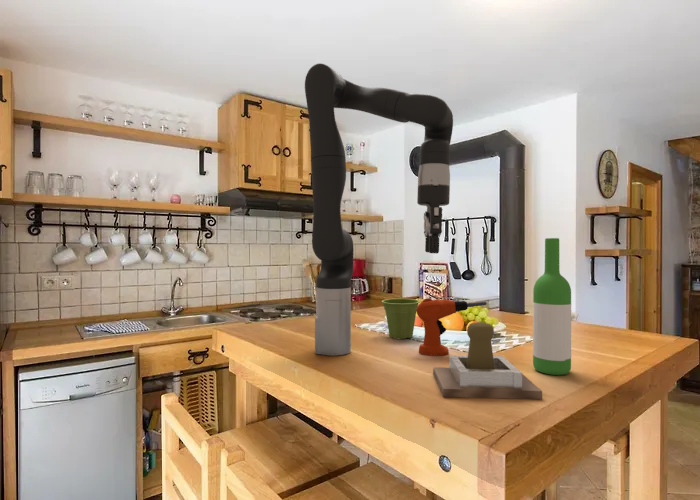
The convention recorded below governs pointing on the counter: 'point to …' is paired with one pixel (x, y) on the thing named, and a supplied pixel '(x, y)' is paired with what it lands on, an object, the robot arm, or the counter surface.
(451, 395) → the socket board
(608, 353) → the counter surface
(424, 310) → the toy drill
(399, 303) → the plant pot
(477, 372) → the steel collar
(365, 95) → the robot arm
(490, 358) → the olive chess pawn
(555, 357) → the wine bottle
